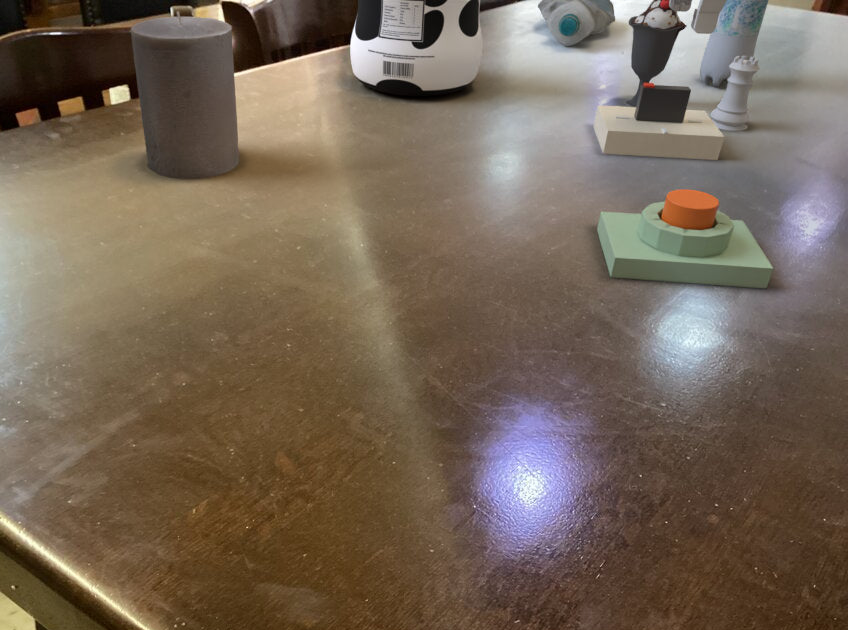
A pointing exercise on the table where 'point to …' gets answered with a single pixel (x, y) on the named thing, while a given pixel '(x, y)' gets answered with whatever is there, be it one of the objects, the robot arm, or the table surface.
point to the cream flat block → (657, 134)
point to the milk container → (416, 45)
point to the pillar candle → (187, 95)
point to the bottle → (732, 38)
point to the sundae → (653, 41)
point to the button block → (682, 250)
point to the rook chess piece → (736, 96)
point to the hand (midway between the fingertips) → (689, 20)
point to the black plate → (662, 103)
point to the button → (690, 209)
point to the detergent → (576, 18)
